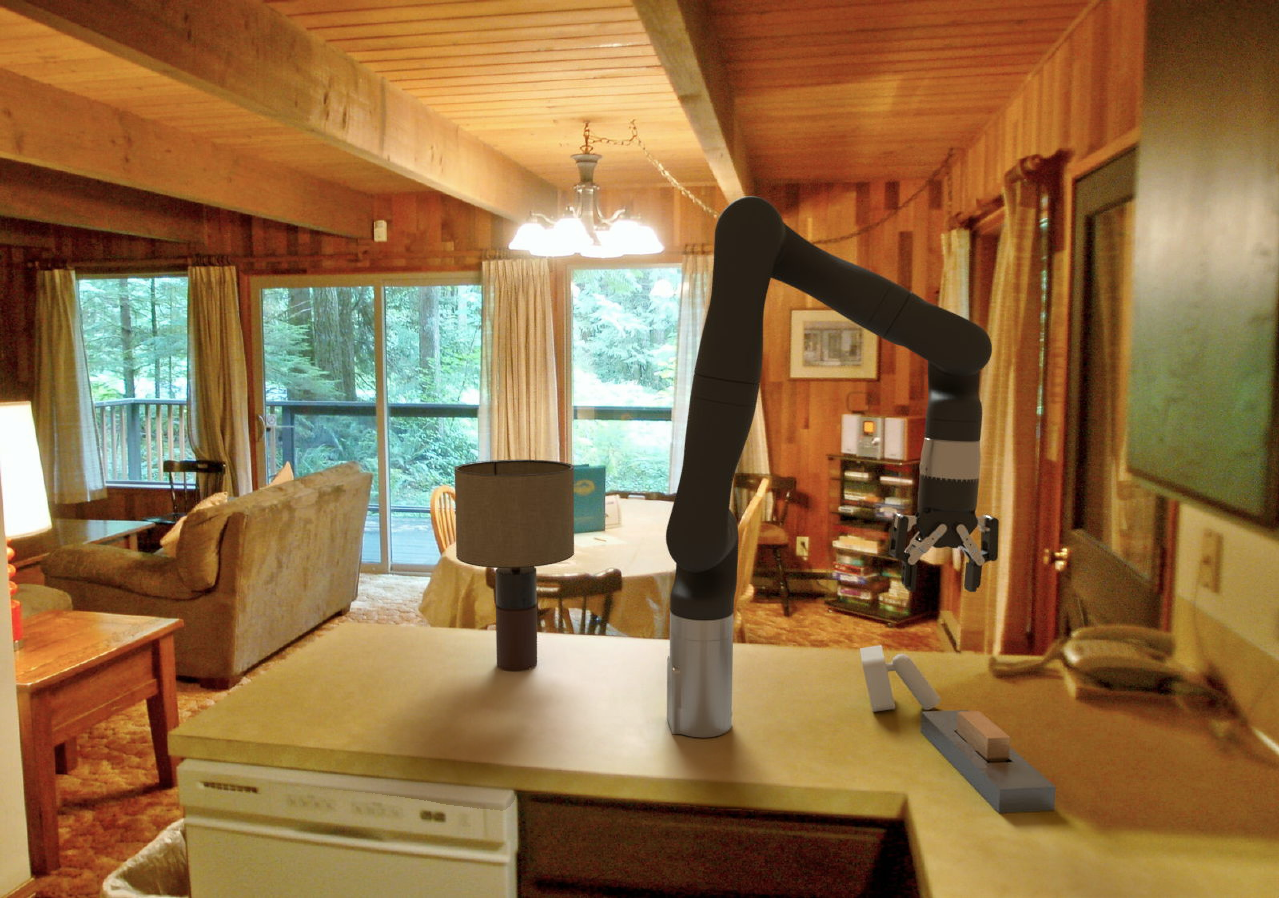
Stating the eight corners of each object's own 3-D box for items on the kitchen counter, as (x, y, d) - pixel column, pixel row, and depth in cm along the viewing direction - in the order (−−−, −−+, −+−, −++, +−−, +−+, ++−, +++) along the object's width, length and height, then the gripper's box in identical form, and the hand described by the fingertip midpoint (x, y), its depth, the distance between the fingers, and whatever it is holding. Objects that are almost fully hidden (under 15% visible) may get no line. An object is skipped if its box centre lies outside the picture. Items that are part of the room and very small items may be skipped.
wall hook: (946, 716, 126) (932, 652, 126) (875, 726, 129) (861, 663, 128) (938, 695, 134) (925, 635, 134) (872, 705, 137) (859, 645, 136)
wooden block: (1007, 778, 108) (1010, 737, 108) (985, 779, 108) (987, 738, 107) (976, 749, 116) (978, 710, 116) (955, 750, 116) (957, 711, 115)
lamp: (568, 686, 139) (567, 475, 135) (446, 685, 139) (441, 474, 135) (579, 644, 159) (578, 459, 155) (471, 643, 159) (468, 459, 155)
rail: (1054, 810, 102) (1055, 786, 101) (998, 812, 101) (999, 789, 101) (966, 729, 124) (967, 709, 123) (920, 731, 123) (921, 711, 122)
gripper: (909, 475, 109) (900, 598, 111) (1014, 478, 110) (1004, 598, 112) (887, 467, 117) (879, 582, 118) (986, 469, 118) (977, 583, 120)
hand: (940, 590), depth 115 cm, fingers open, 8 cm apart
